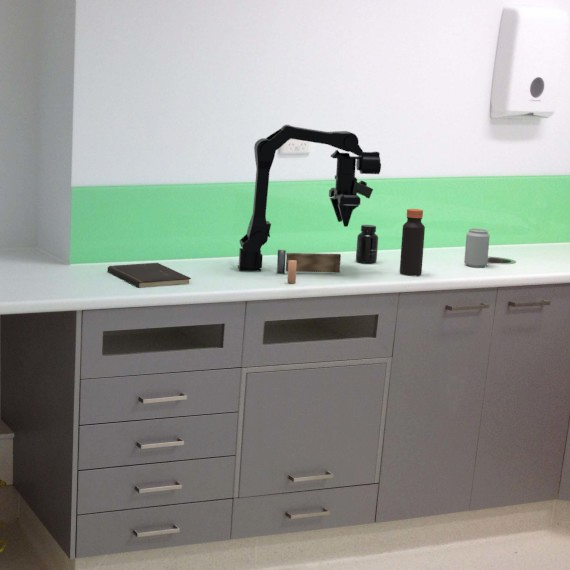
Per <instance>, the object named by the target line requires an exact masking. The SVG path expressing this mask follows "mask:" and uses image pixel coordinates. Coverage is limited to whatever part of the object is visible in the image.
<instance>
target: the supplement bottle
mask: <svg viewBox="0 0 570 570" xmlns="http://www.w3.org/2000/svg"><path fill="white" fill-rule="evenodd" d="M376 232H377V226H376V225H373V224H361V227H360V232H359V233H358V234H357V237H356V250H355V251H356V252H355V261H356V262H357V263H359V264H367V265H369V264H370V265H373V264H376V263H377V259H378V247H379V236H378V234H376Z"/></svg>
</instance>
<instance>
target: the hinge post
mask: <svg viewBox="0 0 570 570" xmlns="http://www.w3.org/2000/svg"><path fill="white" fill-rule="evenodd" d="M286 253H287V250H286V249H278V250H277V264H276V265H277V266H276V274H277V275H278V274H279V275H285V273H286V257H287V256H286Z"/></svg>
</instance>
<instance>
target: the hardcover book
mask: <svg viewBox="0 0 570 570" xmlns="http://www.w3.org/2000/svg"><path fill="white" fill-rule="evenodd" d="M107 273H109V274H111V275H113V276H115V277H117V278H119V279H120V280H122V281H124V282H126V283H129V284H131V285H132V286H134V287H136V288H138V289H140V288H151V287H153V288H154V287H164V286H165V287H167V286H177V285H188V284H189V285H190V280H191V279H192V278H191V277H189V276H187V275H186V274H183V273H181V272H178V271H177V270H174V269H172V268H170V267H168V266H165V265H163V264H161V263H159V262H149V263H148V262H147V263H145V262H144V263H132V264H131V263H130V264H116V265H108V267H107Z"/></svg>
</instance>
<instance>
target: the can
mask: <svg viewBox="0 0 570 570" xmlns="http://www.w3.org/2000/svg"><path fill="white" fill-rule="evenodd" d="M488 232H489V230H488V229H484V228H469V229H468V232H467V233H466V236H465V237H466V238H465V248H464V249H465V250H464V258H463V259H464V260H463V261H464V262H463V263H464V264H465V266H467V267H470V268H484V267H485V266H487V265H488V260H489V250H490V248H489V247H490V238H491V237H490V236H491V235H490V234H489V233H488Z"/></svg>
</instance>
